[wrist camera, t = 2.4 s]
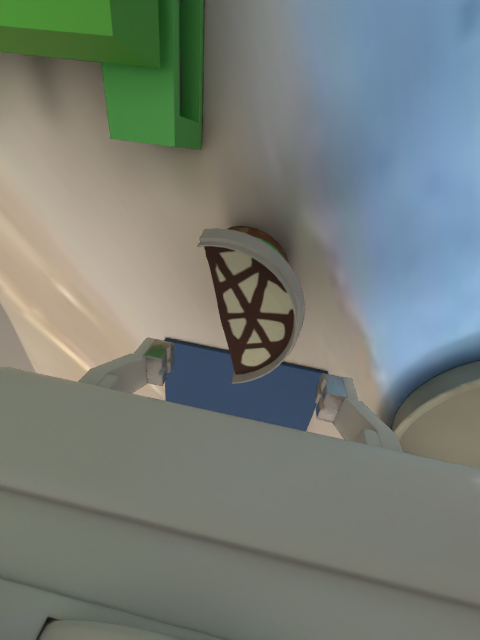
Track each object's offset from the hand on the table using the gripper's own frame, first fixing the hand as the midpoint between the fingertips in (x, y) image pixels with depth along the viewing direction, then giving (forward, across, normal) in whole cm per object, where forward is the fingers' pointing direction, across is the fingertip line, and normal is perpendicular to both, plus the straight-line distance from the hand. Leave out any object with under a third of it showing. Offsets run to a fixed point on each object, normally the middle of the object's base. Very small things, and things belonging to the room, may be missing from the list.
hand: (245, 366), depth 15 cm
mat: (+15, +1, +18) cm, 23 cm away
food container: (+15, 0, 0) cm, 15 cm away
